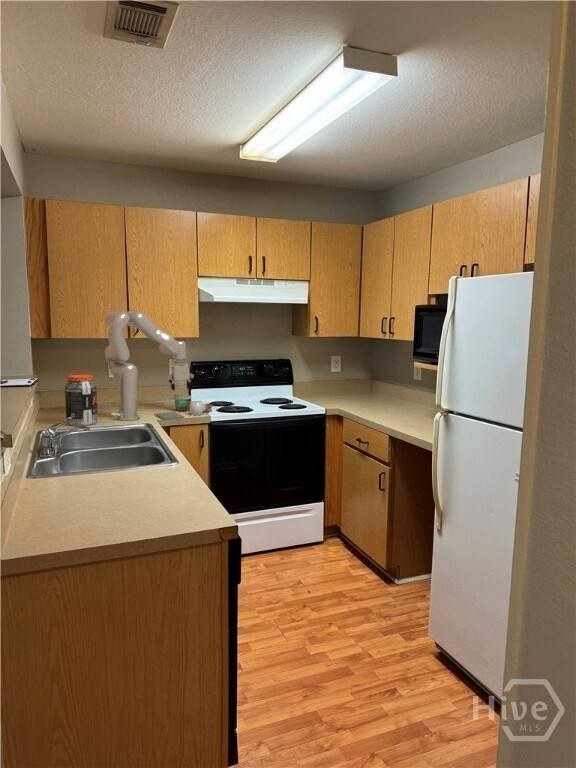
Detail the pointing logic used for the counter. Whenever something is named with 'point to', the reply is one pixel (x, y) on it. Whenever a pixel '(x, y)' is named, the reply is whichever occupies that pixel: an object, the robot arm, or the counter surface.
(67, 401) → the supplement tub
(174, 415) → the slate mat
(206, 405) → the walnut block
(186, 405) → the food container
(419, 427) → the counter surface
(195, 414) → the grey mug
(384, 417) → the counter surface
